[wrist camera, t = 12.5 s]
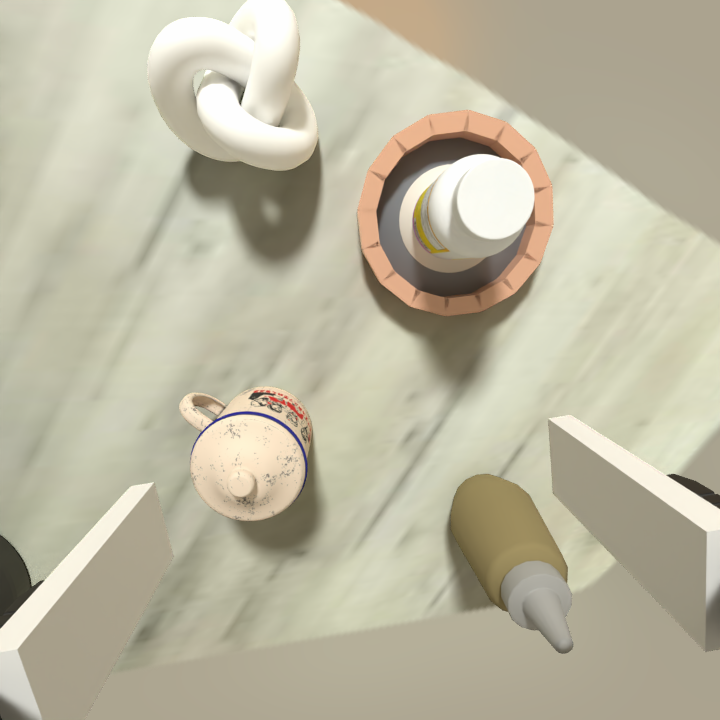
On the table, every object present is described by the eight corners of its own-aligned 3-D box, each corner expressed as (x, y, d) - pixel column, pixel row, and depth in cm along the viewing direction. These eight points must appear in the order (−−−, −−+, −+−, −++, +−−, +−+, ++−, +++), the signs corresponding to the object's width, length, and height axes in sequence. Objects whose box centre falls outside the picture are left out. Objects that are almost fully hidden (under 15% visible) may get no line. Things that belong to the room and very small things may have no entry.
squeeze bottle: (513, 539, 47) (610, 703, 30) (436, 531, 47) (489, 693, 29) (528, 467, 46) (642, 595, 28) (449, 458, 45) (513, 583, 28)
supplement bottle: (499, 197, 39) (572, 165, 27) (468, 270, 41) (524, 274, 28) (427, 167, 39) (467, 120, 26) (398, 243, 40) (423, 233, 27)
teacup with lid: (333, 420, 44) (329, 476, 33) (277, 489, 45) (254, 565, 34) (231, 344, 42) (188, 375, 31) (175, 418, 44) (115, 473, 32)
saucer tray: (369, 321, 42) (371, 325, 39) (347, 134, 39) (347, 125, 36) (542, 299, 42) (555, 302, 39) (535, 110, 39) (549, 99, 36)
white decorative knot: (359, 125, 39) (363, 86, 30) (255, 221, 40) (229, 210, 31) (268, 8, 37) (243, -71, 28) (161, 113, 38) (106, 69, 29)
